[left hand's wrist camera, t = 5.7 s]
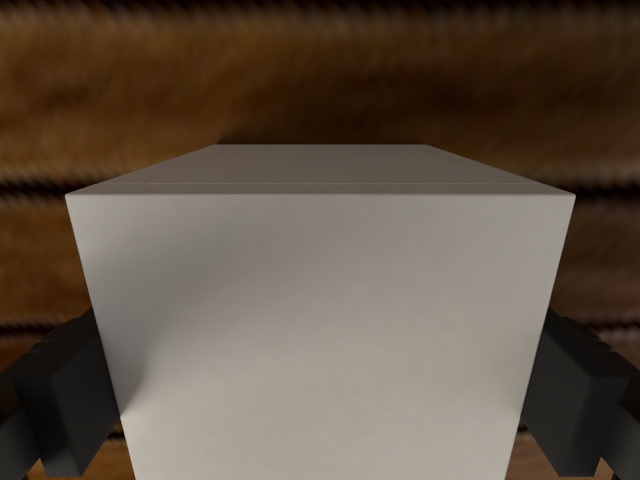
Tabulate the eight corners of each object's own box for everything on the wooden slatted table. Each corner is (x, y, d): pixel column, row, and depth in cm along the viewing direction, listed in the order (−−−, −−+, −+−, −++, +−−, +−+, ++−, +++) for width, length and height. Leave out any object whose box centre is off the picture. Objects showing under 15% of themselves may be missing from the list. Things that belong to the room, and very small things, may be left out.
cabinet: (397, 446, 24) (452, 689, 14) (243, 446, 24) (187, 689, 14) (427, 144, 18) (577, 193, 7) (213, 144, 18) (62, 193, 7)
